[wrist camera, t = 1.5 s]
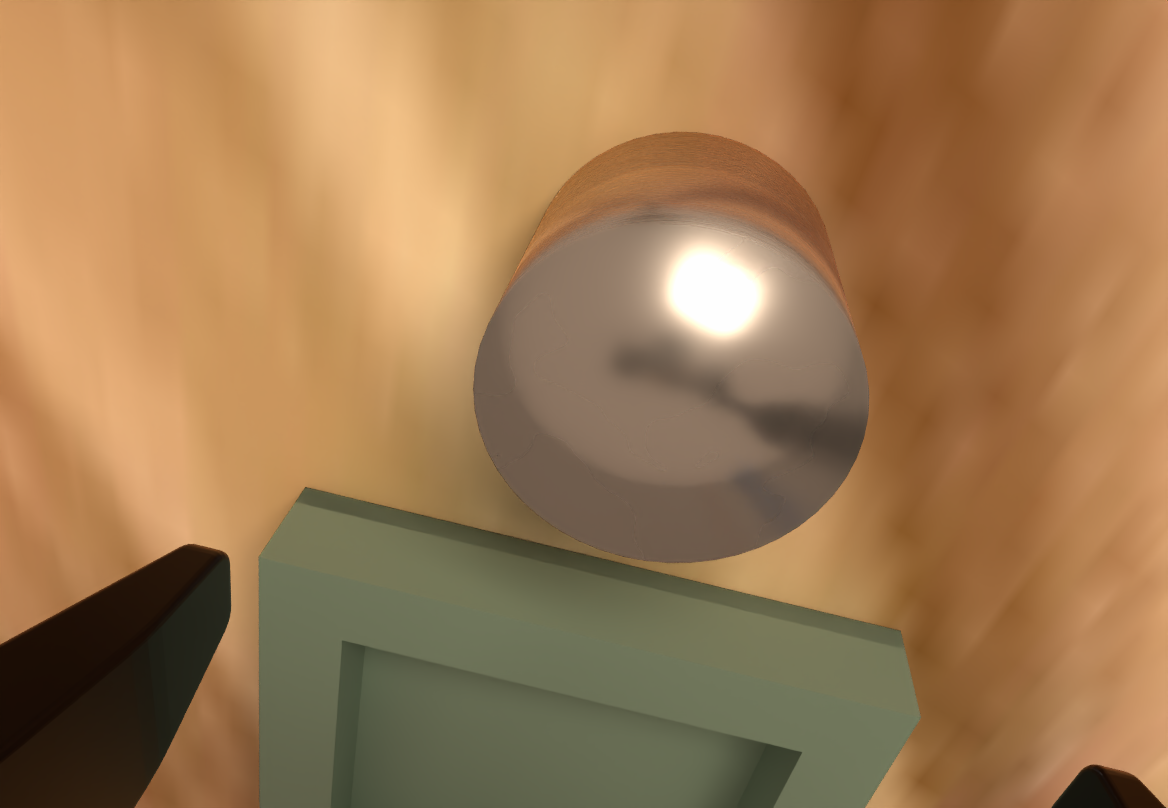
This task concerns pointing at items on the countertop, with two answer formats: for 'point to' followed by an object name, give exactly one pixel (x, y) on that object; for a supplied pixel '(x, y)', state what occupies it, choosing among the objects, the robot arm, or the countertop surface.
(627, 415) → the silver rounded cylinder
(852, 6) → the countertop surface
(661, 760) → the socket frame
